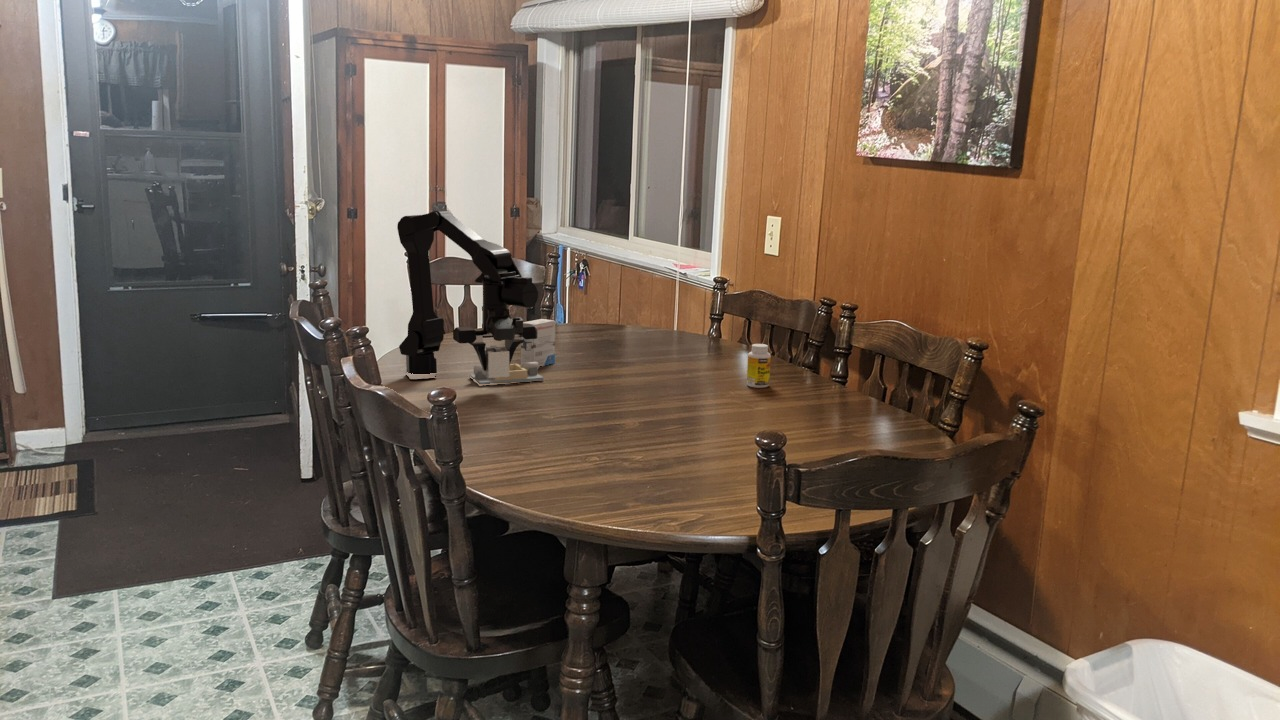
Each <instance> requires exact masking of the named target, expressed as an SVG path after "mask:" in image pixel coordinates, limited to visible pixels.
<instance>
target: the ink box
mask: <svg viewBox="0 0 1280 720" xmlns="http://www.w3.org/2000/svg"><path fill="white" fill-rule="evenodd" d="M556 323H557V322H556V320H552V319H545V318H539V319H534V320H528V321H523V324H531V325H532V326H534V327H535V328H536V329H537V339H526V340H525V339H524V338H523V337H522V340H524V343H520V364H521V363H526V362H538V365H539V366H542V367H545V366H544V365H547V366H549V364H551V365H554V364H553V363H556V361H555V360H556Z"/></svg>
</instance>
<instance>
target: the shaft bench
mask: <svg viewBox="0 0 1280 720" xmlns="http://www.w3.org/2000/svg"><path fill="white" fill-rule="evenodd" d="M539 368H540V367H539V365H538V362H526V363H521V362H520V364H518V363H510V365H509V377H496V378H488V377H486V376H485V375H484V374H482V365H475V366H473V373H471V374H469V377H470V376H471V377H472V378H473V379H475V380H476V381H477V382H478V383H479V384H490V383H511V382H528V381H529V382H530V383H532V382H531V381H542V382H544V377H543V376H542V375H540V374H538V370H539Z"/></svg>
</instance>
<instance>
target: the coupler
mask: <svg viewBox="0 0 1280 720" xmlns="http://www.w3.org/2000/svg"><path fill="white" fill-rule="evenodd" d="M485 356H486V371H484V370H483V368H482V374H484V375H485V376H486V377H488V378H496V377H509V351H508V350H507V349H506V347H505V345H502V346H501V345H500V346H497V345H494V344H493V345H490V346H488V347H487V346H485Z"/></svg>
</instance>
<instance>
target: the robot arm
mask: <svg viewBox="0 0 1280 720" xmlns="http://www.w3.org/2000/svg"><path fill="white" fill-rule="evenodd" d="M439 231H440V233H442V234H443V235H444V236H446V237H447V238H448V239H449V240H450V241H452V242H453V243H454V244H456V245H457V246H458V247H460V248H461V249H462V250H463V251H465V252H466V253H467V254H468V255H469V256H470V257H471V261H472V263H473V265H474V266H475V267H476V268H477V269H478V270H479V272H481V273H480V275H479V276H478V277H477V278H475V280H474V282H475V283H476V284H478V283H479V284H482V306H481V311H482V323H481V328H482V329H474V328H473V327H471V326H461V327H460V326H459V327H458V326H457V327H455V328H454V329H453V331H452V339H453V340H454V341H455V342H457V343H458V344H469V345H471V346H472V347H473V349H474V351H475V352H476V355H477V358H478V360H479V362H480V366H482V368H483V370H484V371H486V356H485V348H486V347H487V346H486V344H487V343H486V342H484V339H487V338H489V339H490V338H493V340H494V341H497V342H501V341H504V347H506V349H507V350H508V351H509V365H510V364H512V363H511V362H512V359H513V356H514V353H515V352H516V349H517V348H518V347H519V345H521V343H524V340H522V337H523V338H524V339H525V340H526V339H537V329H536V328H535V327H534V326H532V325H531V324H523V322H524V319H523V318H522V317H513V318H511V314H510V309H509V306H513V307H519V308H527V309H531V308H533V307H534V306H536V304H537V302H538V299H539V291H538V288H537V286H536V285H535V284H534V283H533V278H532V277H531V276H529V277H528V276H527V277H524V276H523V277H522V274H521V272H520V271H519V269H518V267H517V265H516V264H515V262H514V259H513V258H512V257H513V255H512V253H511V252H510V251H509V249H507V248H505V247H503V246H501V245H500V244H497V243H494V242H491V241H487V240H485V239H484V238H482V237H481V236H480V235H479V234H477V233H476V232H475V231H474V230H473V229H471V228H469V226H467V225H466V224H464V223H463V222H462V221H461V220H459V218H457V217H456V216H454V215H453V213H452V211H450V210H447V209H441V210H433V211H431V212H428V213H424V214H416V215H414V214H413V215H412V214H411V215H404V216H402V217H401V218H400V220H398V222H397V233H398V238H399V242H400V245H401V246H402V247H403V248H404V250H405V252H406V254H407V261H408V271H409V283H410V292H411V293H410V294H411V301H412V302H411V303H412V304H411V305H412V306H411V307H412V315H411V317H410V318H409V321H408V323H407V335H406V337H405V339H404V340H403V341H402V342H401V343H400V344H399V345H398V347H399V353H400V355H403V356H405V357H406V358H405V359H406V360H405V361H406V362H405V363H406V373H407V372H408V373H411V374H412V373H413V374H430V373H438V371H437V369H438V368H437V358H436V357H435V352H439V351H440V348H441V345H442V342H443V341H444V339H445V336H444V335H445V334H446V330H445V327H444V326H445V323H444V321H445V320H444V317H439V316H438V314H436V311H435V309H434V299H433V287H432V278H431V277H432V275H431V263H430V262H431V261H430V249H431V247H432V246H433V243H434V241H435V239H434V238H435V233H436V232H439Z"/></svg>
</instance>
